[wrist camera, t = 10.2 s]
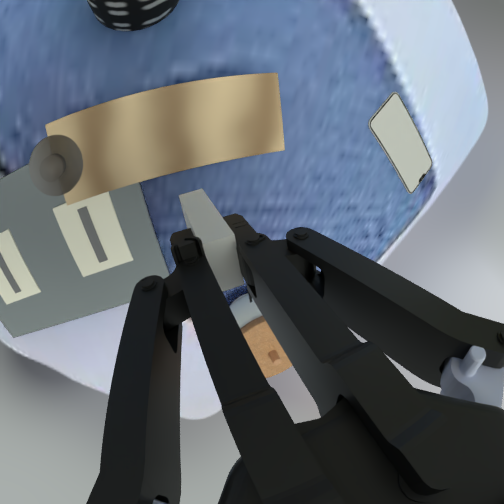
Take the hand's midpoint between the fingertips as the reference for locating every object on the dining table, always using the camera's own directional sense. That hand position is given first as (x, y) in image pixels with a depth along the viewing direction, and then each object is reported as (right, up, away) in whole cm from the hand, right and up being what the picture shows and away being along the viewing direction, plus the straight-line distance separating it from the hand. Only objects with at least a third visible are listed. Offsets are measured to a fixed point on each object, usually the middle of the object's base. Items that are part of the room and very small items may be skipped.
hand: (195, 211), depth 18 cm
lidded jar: (+3, -10, +20) cm, 23 cm away
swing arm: (-5, +7, +3) cm, 9 cm away
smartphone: (+25, +13, +17) cm, 32 cm away
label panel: (-18, -2, +7) cm, 19 cm away
